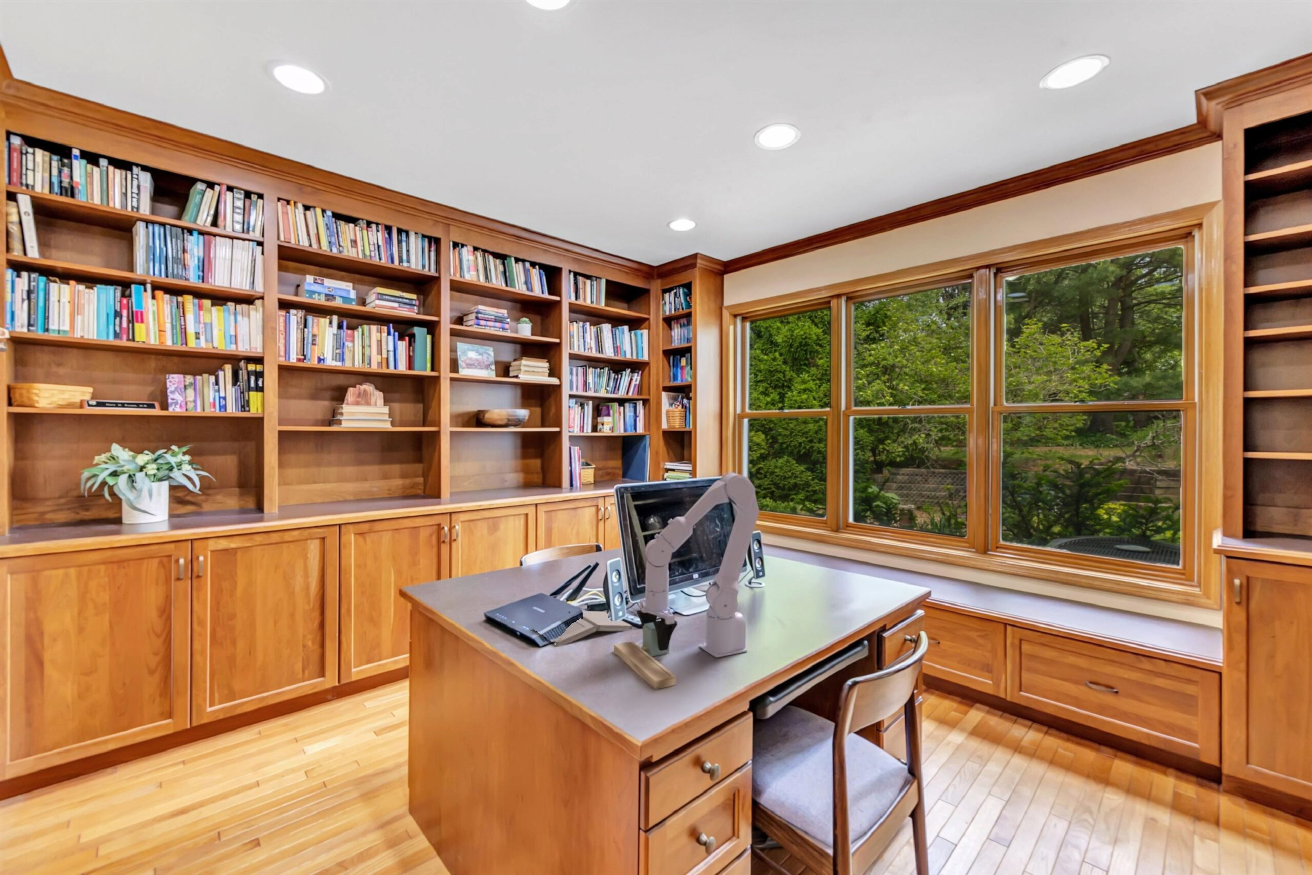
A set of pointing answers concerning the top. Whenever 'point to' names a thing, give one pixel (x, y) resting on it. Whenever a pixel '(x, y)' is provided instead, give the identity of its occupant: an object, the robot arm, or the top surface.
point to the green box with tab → (651, 640)
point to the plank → (645, 665)
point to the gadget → (590, 627)
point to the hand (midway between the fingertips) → (655, 644)
